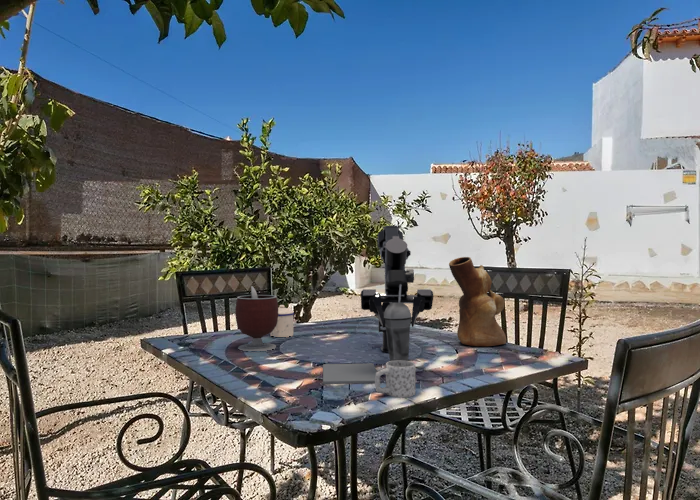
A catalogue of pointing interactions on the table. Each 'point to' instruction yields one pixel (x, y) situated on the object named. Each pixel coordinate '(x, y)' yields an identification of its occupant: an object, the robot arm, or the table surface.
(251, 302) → the mate gourd
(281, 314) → the teacup with lid
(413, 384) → the mug
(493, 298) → the ceramic vessel
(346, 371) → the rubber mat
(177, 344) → the table surface
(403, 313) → the beverage cup
